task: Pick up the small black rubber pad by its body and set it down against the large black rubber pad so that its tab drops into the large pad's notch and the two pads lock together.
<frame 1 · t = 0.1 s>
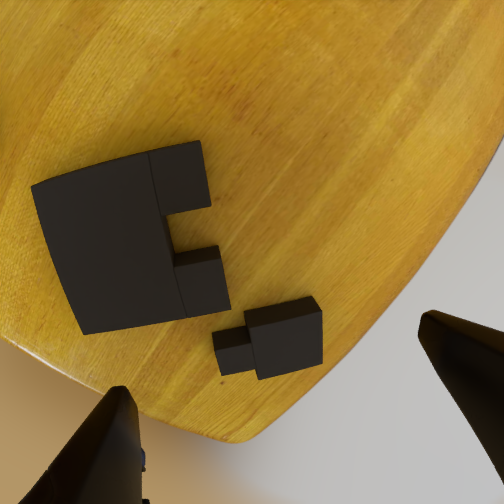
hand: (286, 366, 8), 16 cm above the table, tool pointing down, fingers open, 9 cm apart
large pad: (134, 238, 22), on the table
small pad: (281, 331, 28), on the table
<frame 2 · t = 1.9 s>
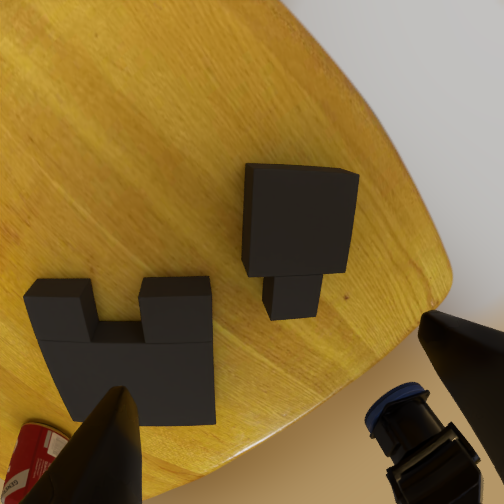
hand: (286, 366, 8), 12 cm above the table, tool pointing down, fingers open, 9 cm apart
large pad: (129, 351, 21), on the table
small pad: (291, 213, 19), on the table
soda can: (50, 435, 24), on the table
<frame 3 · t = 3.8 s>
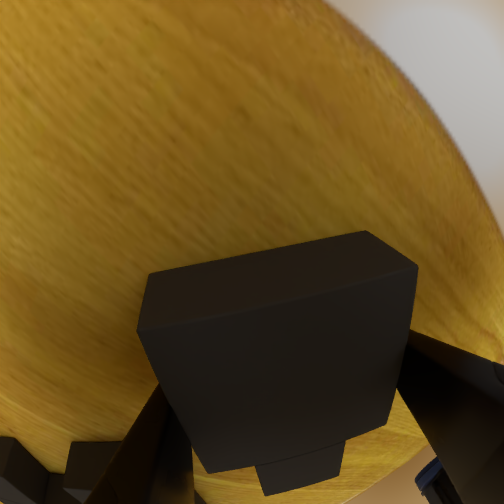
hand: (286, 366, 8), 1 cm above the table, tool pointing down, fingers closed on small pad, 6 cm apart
large pad: (99, 495, 12), on the table
small pad: (274, 340, 9), on the table, touching gripper
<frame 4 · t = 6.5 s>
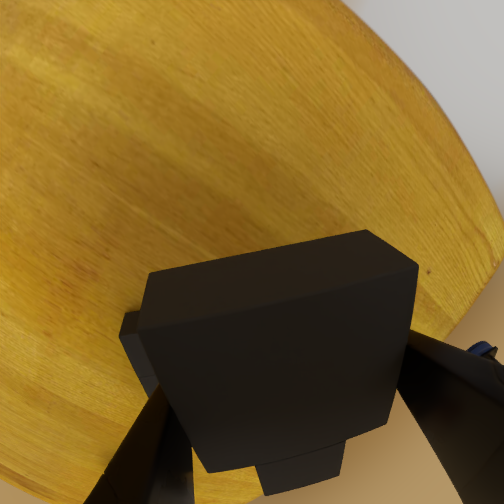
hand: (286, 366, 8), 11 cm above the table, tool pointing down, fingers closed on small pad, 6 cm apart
large pad: (234, 365, 21), on the table
small pad: (274, 339, 9), point 9 cm above the table, touching gripper
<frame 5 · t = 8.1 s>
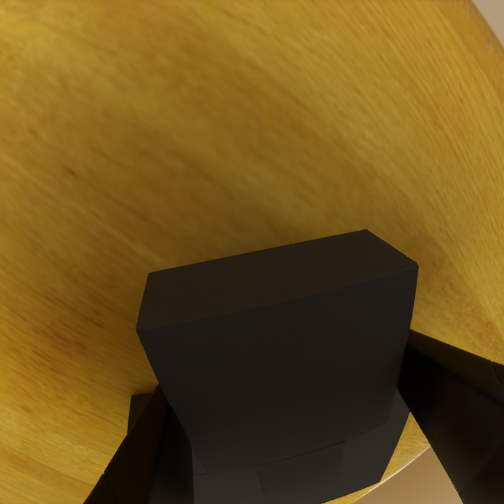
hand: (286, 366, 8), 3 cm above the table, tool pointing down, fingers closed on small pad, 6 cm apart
large pad: (280, 443, 15), on the table
small pad: (274, 339, 9), point 2 cm above the table, touching gripper
when the fingers open (1 cm above the table, at t = 9.2 s): small pad stays where it is, on the table.
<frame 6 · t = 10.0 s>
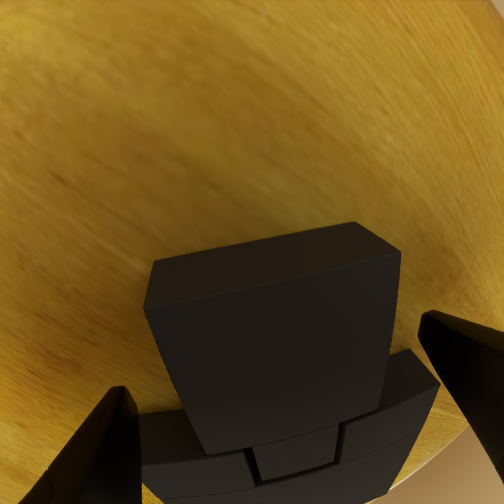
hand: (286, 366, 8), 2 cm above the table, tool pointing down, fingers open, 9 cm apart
large pad: (286, 459, 14), on the table
small pad: (270, 325, 10), on the table
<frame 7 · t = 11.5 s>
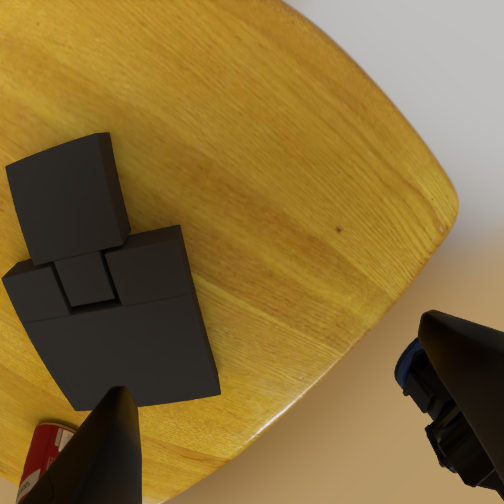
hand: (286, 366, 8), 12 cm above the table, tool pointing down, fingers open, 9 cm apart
large pad: (117, 324, 20), on the table
small pad: (74, 194, 16), on the table
soda can: (65, 435, 24), on the table
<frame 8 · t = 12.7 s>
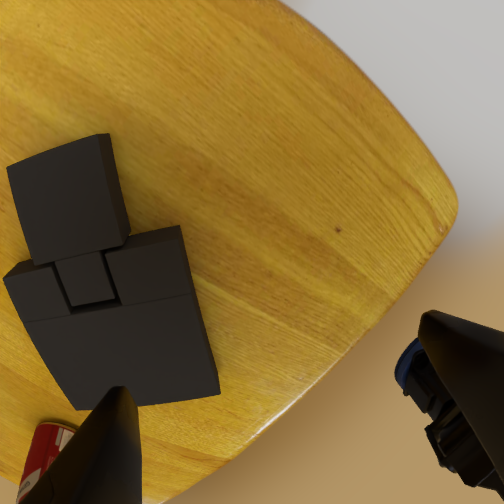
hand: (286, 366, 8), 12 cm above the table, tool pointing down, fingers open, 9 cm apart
large pad: (117, 324, 20), on the table
small pad: (75, 194, 16), on the table
soda can: (66, 435, 24), on the table
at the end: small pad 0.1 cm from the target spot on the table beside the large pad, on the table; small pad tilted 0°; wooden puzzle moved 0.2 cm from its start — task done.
